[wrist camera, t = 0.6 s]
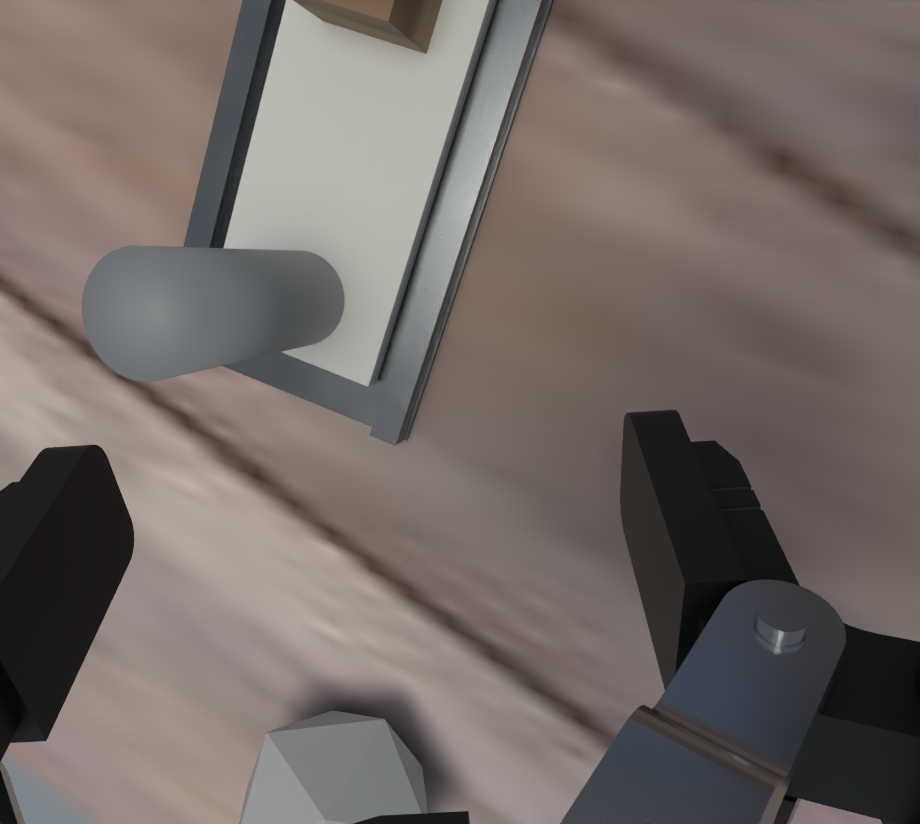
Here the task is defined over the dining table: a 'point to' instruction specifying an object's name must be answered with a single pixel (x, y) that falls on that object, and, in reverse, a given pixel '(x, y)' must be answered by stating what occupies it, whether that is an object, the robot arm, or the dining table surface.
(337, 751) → the die
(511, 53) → the track
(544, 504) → the dining table surface
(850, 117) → the dining table surface
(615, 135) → the dining table surface
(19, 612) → the robot arm
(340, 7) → the walnut block
